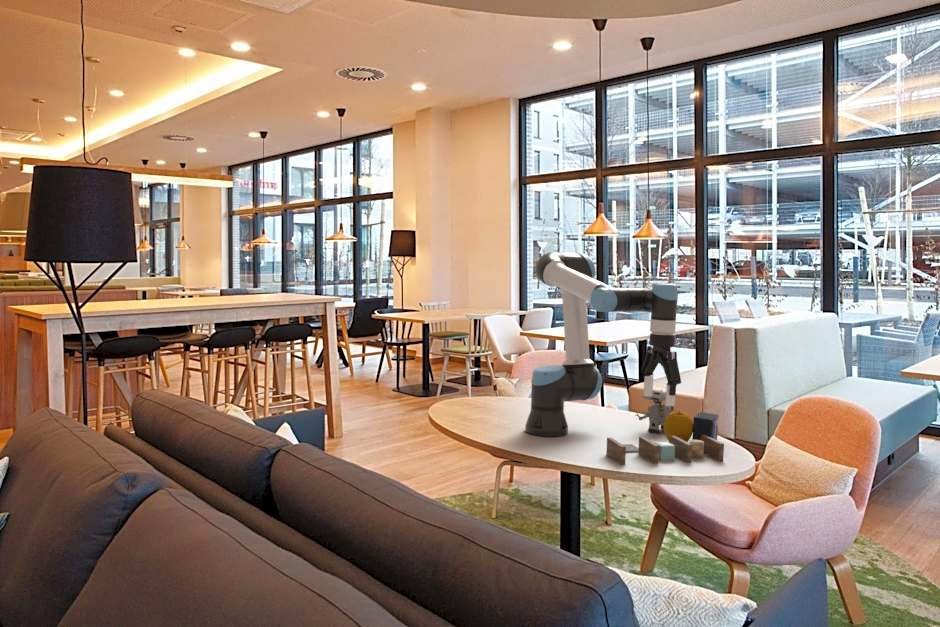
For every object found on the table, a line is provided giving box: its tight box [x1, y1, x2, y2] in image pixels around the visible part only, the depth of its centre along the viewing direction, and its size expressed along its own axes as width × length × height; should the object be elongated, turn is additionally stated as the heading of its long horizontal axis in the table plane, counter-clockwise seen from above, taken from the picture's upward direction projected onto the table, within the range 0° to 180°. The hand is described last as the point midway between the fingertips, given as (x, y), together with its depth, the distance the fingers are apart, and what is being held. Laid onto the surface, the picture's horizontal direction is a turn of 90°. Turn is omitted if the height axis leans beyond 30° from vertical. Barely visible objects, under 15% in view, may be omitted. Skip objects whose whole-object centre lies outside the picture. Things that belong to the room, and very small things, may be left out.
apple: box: [662, 410, 693, 443], centre depth 231 cm, size 10×10×12 cm
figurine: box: [635, 389, 675, 435], centre depth 251 cm, size 9×12×15 cm
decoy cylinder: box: [688, 439, 704, 460], centre depth 217 cm, size 4×4×5 cm
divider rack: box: [606, 435, 725, 466], centre depth 215 cm, size 34×11×6 cm, turn 102°
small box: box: [691, 411, 719, 441], centre depth 231 cm, size 11×6×10 cm, turn 149°
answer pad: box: [621, 443, 639, 454], centre depth 225 cm, size 8×8×1 cm
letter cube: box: [654, 441, 676, 461], centre depth 215 cm, size 4×4×5 cm
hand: (658, 400), depth 214 cm, fingers open, 13 cm apart
